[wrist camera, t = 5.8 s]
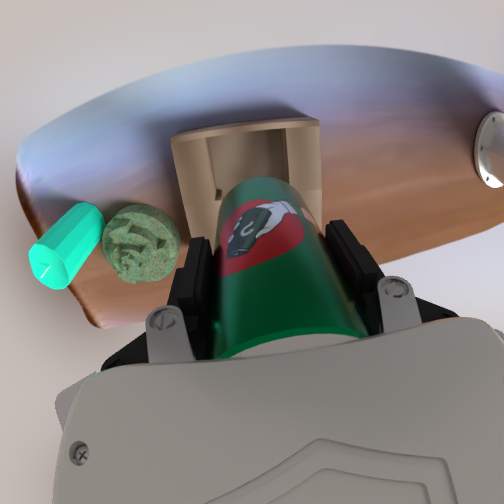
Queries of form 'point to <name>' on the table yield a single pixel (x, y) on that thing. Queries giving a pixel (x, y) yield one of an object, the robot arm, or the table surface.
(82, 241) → the candle
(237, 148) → the open cardboard box
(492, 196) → the table surface
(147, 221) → the decorative artifact
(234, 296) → the soda can
